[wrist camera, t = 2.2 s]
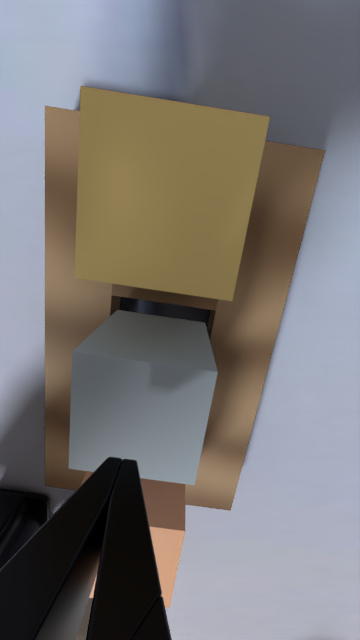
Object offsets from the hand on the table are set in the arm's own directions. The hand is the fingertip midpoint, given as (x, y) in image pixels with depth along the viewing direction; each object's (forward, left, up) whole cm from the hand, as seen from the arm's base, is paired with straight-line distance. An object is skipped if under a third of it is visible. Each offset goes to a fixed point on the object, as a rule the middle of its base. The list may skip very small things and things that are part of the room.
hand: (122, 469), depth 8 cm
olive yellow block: (+8, 0, -8) cm, 11 cm away
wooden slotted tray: (0, 0, -11) cm, 11 cm away
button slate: (0, 0, -8) cm, 8 cm away
